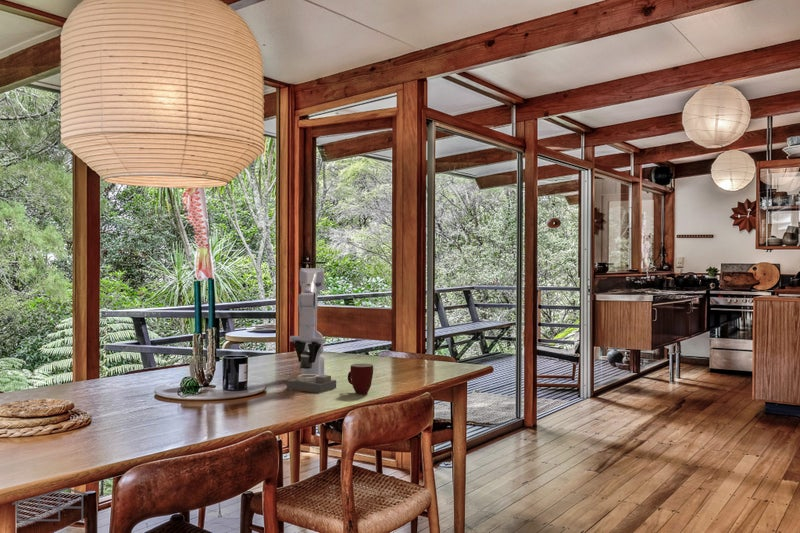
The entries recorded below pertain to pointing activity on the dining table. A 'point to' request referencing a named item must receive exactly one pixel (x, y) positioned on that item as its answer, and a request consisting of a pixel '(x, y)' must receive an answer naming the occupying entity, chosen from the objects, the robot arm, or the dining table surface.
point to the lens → (305, 360)
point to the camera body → (312, 383)
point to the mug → (361, 377)
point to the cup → (191, 363)
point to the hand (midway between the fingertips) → (306, 362)
